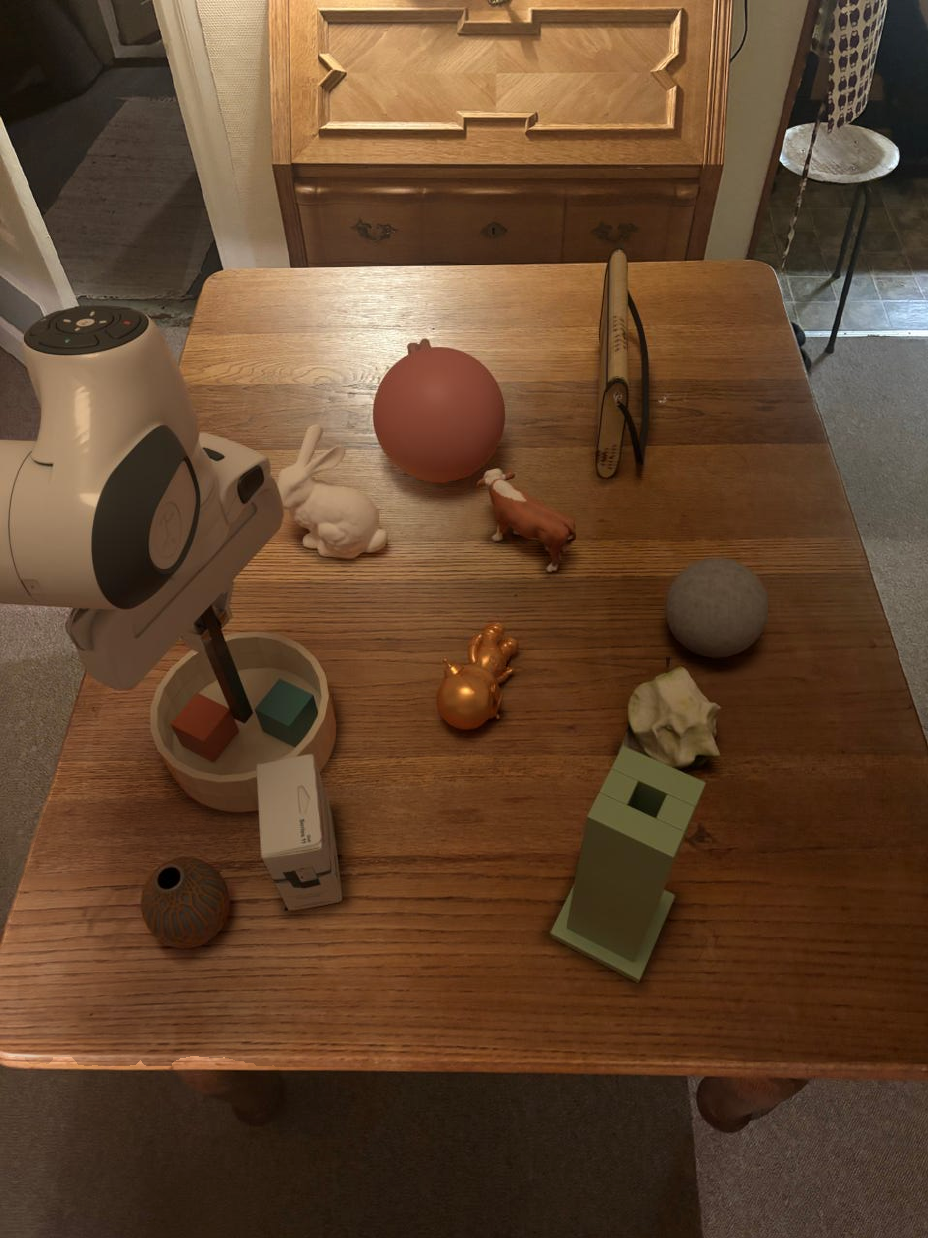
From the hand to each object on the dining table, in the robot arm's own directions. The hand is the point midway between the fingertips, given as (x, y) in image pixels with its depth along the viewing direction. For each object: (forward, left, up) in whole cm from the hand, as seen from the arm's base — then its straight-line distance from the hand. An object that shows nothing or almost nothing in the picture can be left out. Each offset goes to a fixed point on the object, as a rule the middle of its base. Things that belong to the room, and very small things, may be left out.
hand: (210, 632), depth 76 cm
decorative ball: (+32, -35, -17) cm, 50 cm away
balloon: (+44, +4, -17) cm, 47 cm away
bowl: (0, 0, -17) cm, 17 cm away
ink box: (-8, -13, -17) cm, 23 cm away
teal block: (+3, -3, -16) cm, 17 cm away
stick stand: (0, -38, -17) cm, 42 cm away
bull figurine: (+35, -12, -17) cm, 41 cm away
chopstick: (0, 0, -13) cm, 13 cm away
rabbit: (+26, +8, -17) cm, 32 cm away
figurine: (+15, -17, -17) cm, 28 cm away
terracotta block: (-2, +3, -16) cm, 17 cm away
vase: (-17, -7, -17) cm, 25 cm away
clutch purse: (+62, -13, -17) cm, 66 cm away
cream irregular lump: (+19, -36, -17) cm, 44 cm away
